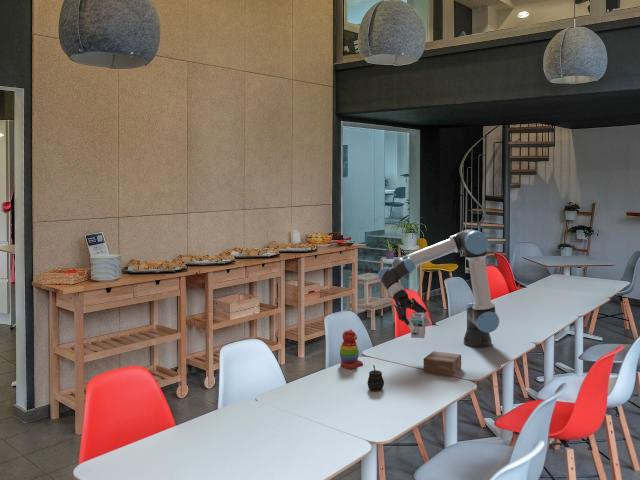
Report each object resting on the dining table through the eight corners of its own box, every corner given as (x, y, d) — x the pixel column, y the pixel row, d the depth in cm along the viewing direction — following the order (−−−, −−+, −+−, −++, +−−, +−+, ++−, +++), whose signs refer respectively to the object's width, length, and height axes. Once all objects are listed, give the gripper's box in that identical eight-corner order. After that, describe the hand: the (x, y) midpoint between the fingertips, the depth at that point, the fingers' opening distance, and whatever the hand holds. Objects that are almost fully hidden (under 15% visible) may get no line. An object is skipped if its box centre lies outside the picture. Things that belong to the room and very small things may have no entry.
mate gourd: (370, 393, 263) (370, 370, 262) (364, 387, 270) (364, 365, 269) (386, 391, 265) (385, 368, 264) (380, 386, 272) (379, 364, 271)
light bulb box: (424, 338, 300) (424, 317, 299) (410, 338, 302) (410, 316, 301) (425, 333, 311) (425, 312, 310) (412, 332, 312) (411, 312, 311)
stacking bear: (352, 369, 296) (351, 334, 294) (335, 366, 302) (334, 331, 300) (364, 364, 304) (363, 329, 303) (347, 361, 311) (347, 326, 309)
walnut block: (433, 365, 301) (433, 351, 300) (461, 368, 294) (461, 354, 293) (423, 373, 289) (423, 358, 288) (452, 377, 282) (452, 362, 281)
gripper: (410, 294, 324) (433, 327, 314) (378, 301, 309) (401, 336, 298) (417, 285, 320) (441, 318, 310) (385, 292, 304) (409, 327, 294)
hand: (421, 327), depth 304 cm, fingers closed on light bulb box, 12 cm apart
